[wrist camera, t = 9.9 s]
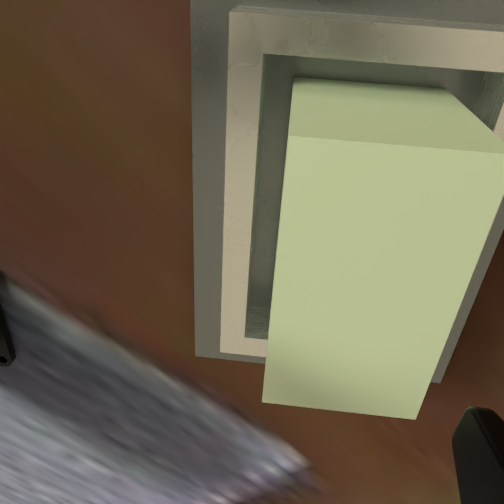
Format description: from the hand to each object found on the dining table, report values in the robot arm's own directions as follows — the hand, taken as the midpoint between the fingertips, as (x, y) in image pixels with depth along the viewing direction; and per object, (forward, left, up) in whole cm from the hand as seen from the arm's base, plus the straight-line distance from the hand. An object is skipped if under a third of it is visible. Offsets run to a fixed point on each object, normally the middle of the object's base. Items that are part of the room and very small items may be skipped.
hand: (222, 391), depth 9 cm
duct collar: (-1, -3, -11) cm, 11 cm away
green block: (-1, -3, -10) cm, 11 cm away
